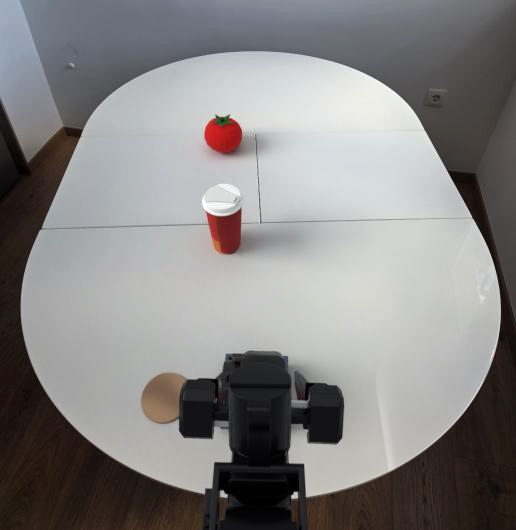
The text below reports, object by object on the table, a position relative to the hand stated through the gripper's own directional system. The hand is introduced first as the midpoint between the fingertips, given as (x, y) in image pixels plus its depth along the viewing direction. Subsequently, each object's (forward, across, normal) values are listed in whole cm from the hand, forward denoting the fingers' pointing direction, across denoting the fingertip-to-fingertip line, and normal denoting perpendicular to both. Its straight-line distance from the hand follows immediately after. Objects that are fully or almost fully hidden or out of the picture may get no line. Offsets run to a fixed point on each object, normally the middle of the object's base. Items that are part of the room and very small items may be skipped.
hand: (261, 372), depth 58 cm
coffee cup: (+38, +8, -7) cm, 40 cm away
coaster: (+12, +16, +12) cm, 23 cm away
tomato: (+66, +12, -28) cm, 73 cm away
